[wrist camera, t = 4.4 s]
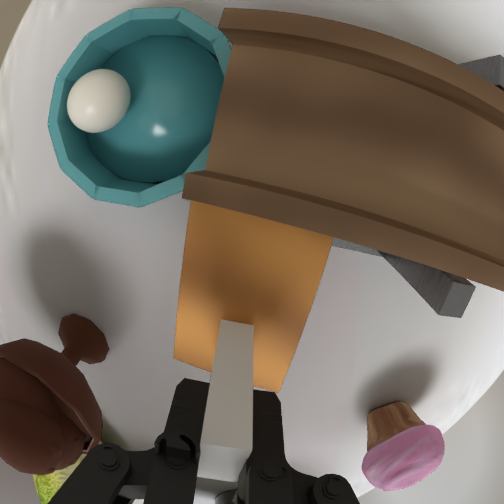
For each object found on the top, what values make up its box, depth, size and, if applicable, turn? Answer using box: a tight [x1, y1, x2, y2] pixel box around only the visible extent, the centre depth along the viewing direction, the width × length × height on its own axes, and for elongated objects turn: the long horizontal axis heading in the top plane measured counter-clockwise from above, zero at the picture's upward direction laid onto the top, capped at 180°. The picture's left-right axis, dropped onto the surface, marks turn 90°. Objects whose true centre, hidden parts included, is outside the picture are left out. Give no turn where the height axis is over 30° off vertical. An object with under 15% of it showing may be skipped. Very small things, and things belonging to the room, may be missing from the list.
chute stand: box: [332, 55, 504, 318], centre depth 13 cm, size 13×22×10 cm, turn 78°
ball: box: [67, 69, 131, 133], centre depth 14 cm, size 4×4×4 cm
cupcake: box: [362, 402, 444, 491], centre depth 22 cm, size 9×9×10 cm
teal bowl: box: [48, 7, 231, 207], centre depth 15 cm, size 12×12×4 cm
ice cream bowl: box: [0, 314, 109, 475], centre depth 16 cm, size 11×11×15 cm
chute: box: [174, 8, 504, 393], centre depth 12 cm, size 17×24×6 cm
